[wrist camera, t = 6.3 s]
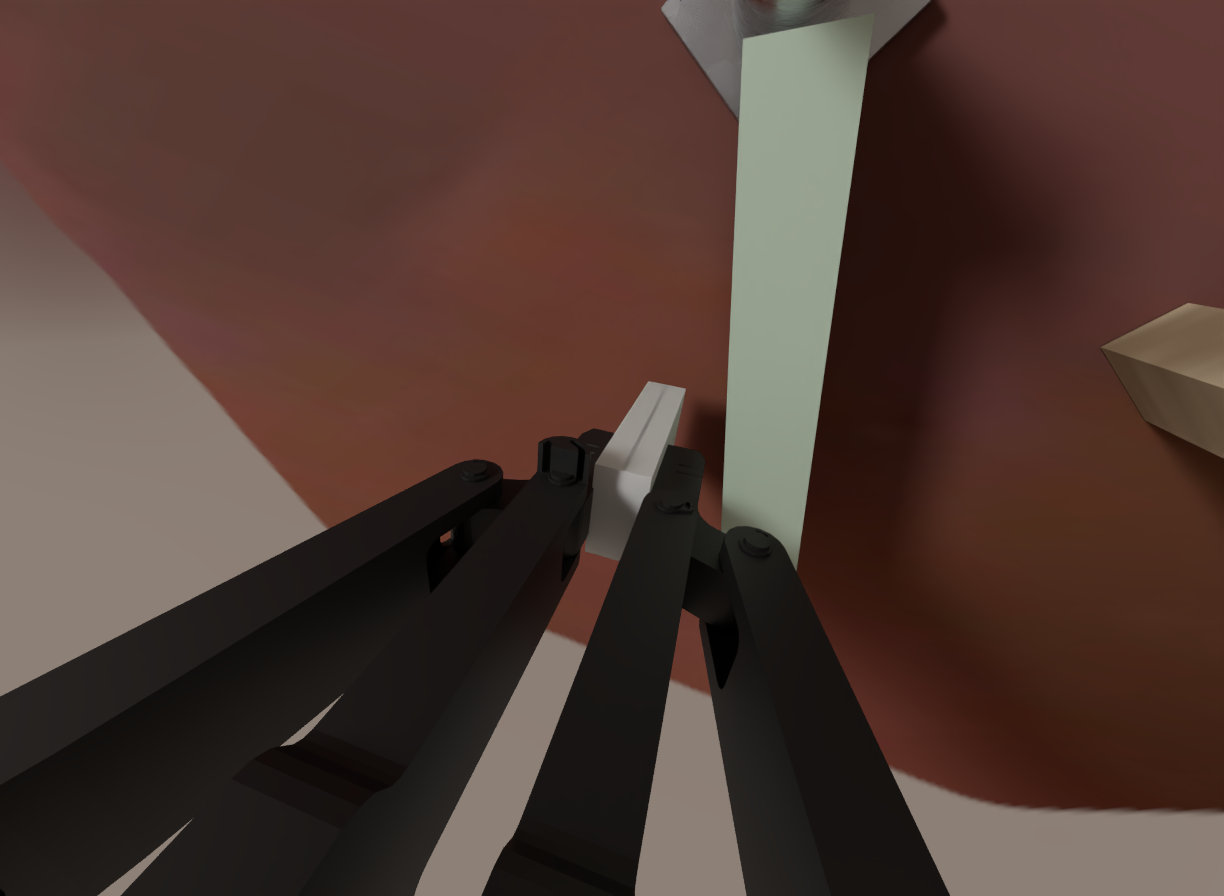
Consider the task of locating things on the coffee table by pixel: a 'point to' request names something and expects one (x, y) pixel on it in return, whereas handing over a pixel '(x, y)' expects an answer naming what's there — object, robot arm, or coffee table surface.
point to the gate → (787, 261)
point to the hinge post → (769, 29)
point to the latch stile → (1177, 373)
